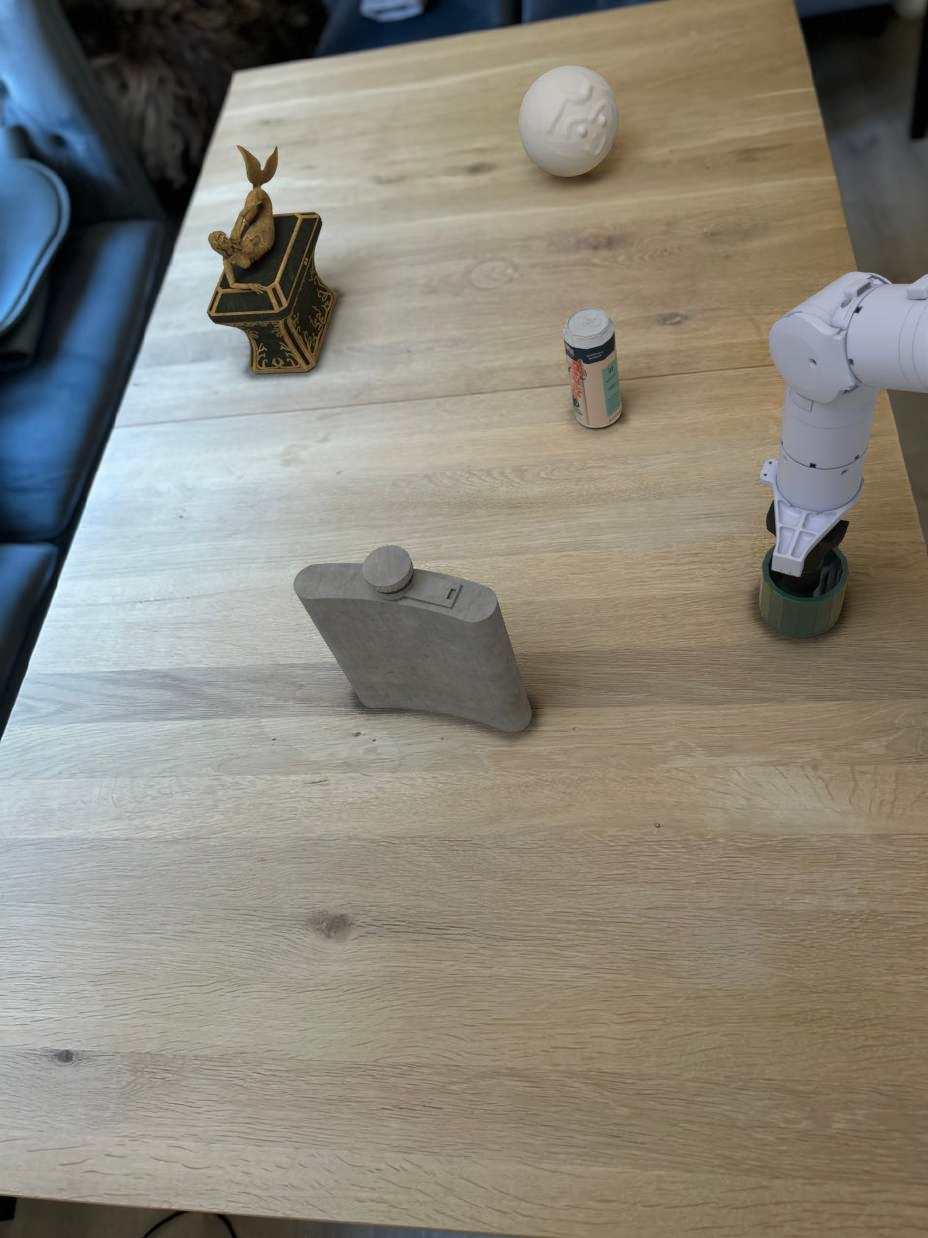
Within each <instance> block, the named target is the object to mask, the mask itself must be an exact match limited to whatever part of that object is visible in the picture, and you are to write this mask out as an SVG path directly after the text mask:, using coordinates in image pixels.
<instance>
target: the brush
mask: <svg viewBox="0 0 928 1238" xmlns="http://www.w3.org/2000/svg"><path fill="white" fill-rule="evenodd" d="M822 566H823V560H822V562H821V564H820V565H819V567H818V568H817V570H816V571H815V572H809V571H805V570H802V573H801V575H800V577H797V576H793V575H788V574H784V583H785V585H786V587H787V588H788V589H789V590H790V591H792V592H794V593H796V594H809V593H811V592H813V591H814V590H816V589H817V587H818V586H819V583H820V578H821V572H822Z"/></svg>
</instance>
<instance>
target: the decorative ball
mask: <svg viewBox="0 0 928 1238" xmlns="http://www.w3.org/2000/svg"><path fill="white" fill-rule="evenodd" d="M619 117H620V116H619V106H618V102H617V99H616V96H615V93H614V91H613V89H612V87H611V85H610V84H609V83H608V81H607V80H606V79H605V78H604V76H602V75H600V74H599V73H597V72H596V71H594V70H592V69H590V68H588V67H584V66H580V65H571V64H569V65H561V66H558V67H554V68H552V69H550V70H548V71H546V72H545V73H543V74H542V75H540V76H539V77H538V78H537V79H536V80H535V81H534V82H533V83H532V85H530V87H529V88H528V89H527V92H526V93H525V95H524V97H523V100H522V102H521V105H520V108H519V112H518V134H519V139H520V142H521V145H522V148H523V150H524V152H525V154H526V155H527V156H528V158H529V159H530V161H531V162H532V163H533V164H534V165H535V166H536V167H537V168H538V169H540V170H542V171H544V172H545V173H547V174H550V175H553V176H557V177H562V178H571V177H576V176H580V175H583V174H585V173H588V172H590V171H591V170H593V169H595V168H596V167H598V166H599V164H600V163H602V162H603V160H604V159H605V158H606V157H607V155H608V154H609V152H610V151H611V149H612V147H613V145H614V143H615V141H616V137H617V134H618V129H619V123H620V122H619V120H620V119H619Z"/></svg>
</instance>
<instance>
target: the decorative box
mask: <svg viewBox="0 0 928 1238" xmlns="http://www.w3.org/2000/svg"><path fill="white" fill-rule="evenodd" d="M236 148H237V150H238V151H239V152H240V154H241V156H242V158H243V161H244V165H245V171H246V178H247V180H248V182H249V183H250V184H252V189H251V190H250V191H249V192H248V193H247V195H246V198H245V202H244V207H243V208H242V209H241V211H239V212H238V216H237V218H236V220H235V222H234V225H233V228H232V229H231V232H230V234H229V236H228V235H227V233H225V232H224V231H222V230H216V231H212V232H210V233H209V234H208V237H207V241H208V243H209V245H210V247H211V249H212V250H213V251H214V252H215V253H217V254H219V256H222V266H223V269H222V272H221V273H220V276H219V278H218V281H217V283H216V286H215V288H214V291H213V294H212V296H211V299H210V300H209V304H208V307H207V309H206V314H207V316H208V318H209V319H210V320H211V322H212V323H213V324H215V325H219V326H225V327H231V328H235V329H238V330H241V331H242V332H243V333H244V334H245V336H246V337H247V340H248V342H249V365H248V366H249V370H251V371H252V372H253V373H254V374H271V373H272V374H274V373H275V374H277V373H302V372H308V371H310V370H311V369H313V368H314V367H316V366H317V365H316V364H317V362H318V359H319V355H320V353H321V350H322V347H323V343H324V340H325V337H326V334H327V331H328V327H329V325H330V321H331V318H332V315H333V312H334V310H335V307H336V303H337V300H338V293H336V292H335V291H334V290H333V289H332V288H331V287H329V286H328V285H327V284H326V283H324V281H323V280H322V279H321V277H320V275H319V273H318V271H317V269H316V263H315V254H316V253H315V252H316V247H317V243H318V240H319V237H320V234H321V232H322V228H323V220H322V217H321V215H320V214H318V213H317V212H315V211H303V212H302V211H300V212H299V211H298V212H287V213H286V212H285V213H274V211H273V202H272V199H271V198H270V195H269V194H268V192H266V190H265V189H263V188H262V186H263V185H264V184H265V185H266V184H268V183H269V182H271V180H272V179H273V178H274V176H275V175H276V173H277V169H278V164H279V150H278V149H279V148H278V146H277V145H275V147H274V150H273V152H272V153H271V154H270V155H269V156H268V158H267V159H266V160H265V163H264V167H263V169H262V165H261V162H260V160H259V159H258V158H257V157H256V156H255V155H254V154H252V153H251V152H250V151H249V150H247V149H246V148H244V147H243V146H242V145H239V144H237V145H236Z"/></svg>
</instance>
